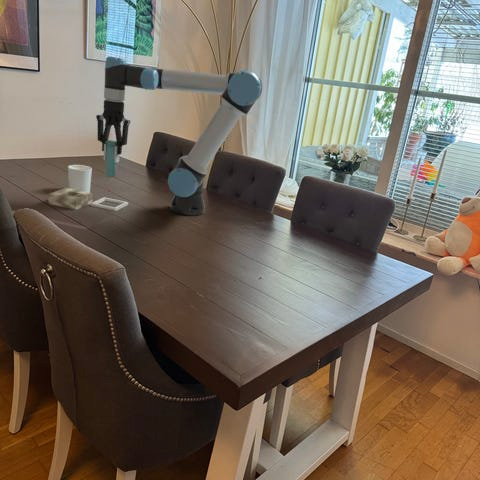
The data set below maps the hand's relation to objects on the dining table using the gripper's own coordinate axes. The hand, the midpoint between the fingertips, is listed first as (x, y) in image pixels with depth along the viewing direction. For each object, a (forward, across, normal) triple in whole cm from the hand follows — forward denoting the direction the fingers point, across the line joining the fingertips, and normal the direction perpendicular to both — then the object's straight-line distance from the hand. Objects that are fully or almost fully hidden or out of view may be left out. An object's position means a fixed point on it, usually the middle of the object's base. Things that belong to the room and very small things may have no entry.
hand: (111, 160), depth 178 cm
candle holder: (+20, +19, -8) cm, 29 cm away
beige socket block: (+20, +13, +8) cm, 25 cm away
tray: (+19, 0, 0) cm, 19 cm away
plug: (+6, 0, 0) cm, 6 cm away
